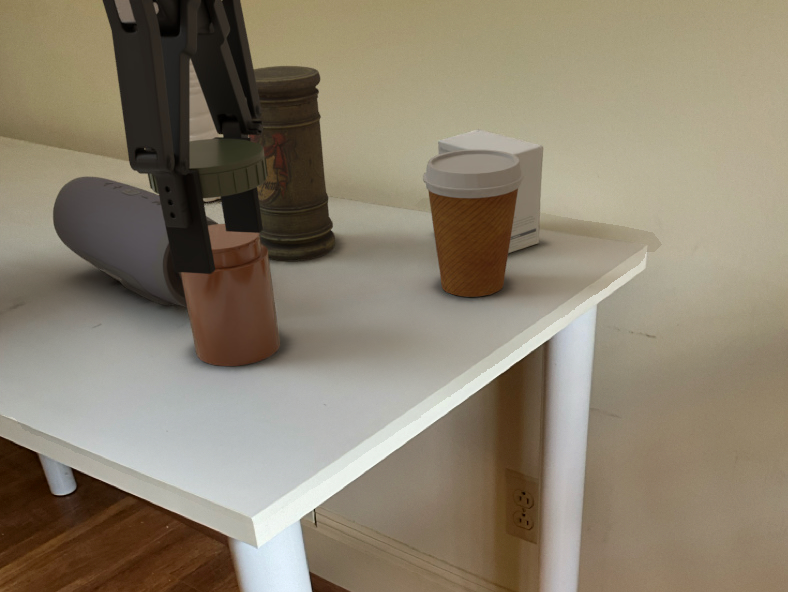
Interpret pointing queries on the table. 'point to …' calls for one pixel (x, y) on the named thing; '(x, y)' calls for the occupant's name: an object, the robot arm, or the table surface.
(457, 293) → the disposable coffee cup
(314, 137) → the container
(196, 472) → the table surface
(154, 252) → the bluetooth speaker
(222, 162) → the lid
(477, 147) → the cosmetics box
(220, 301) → the jar
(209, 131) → the water bottle
